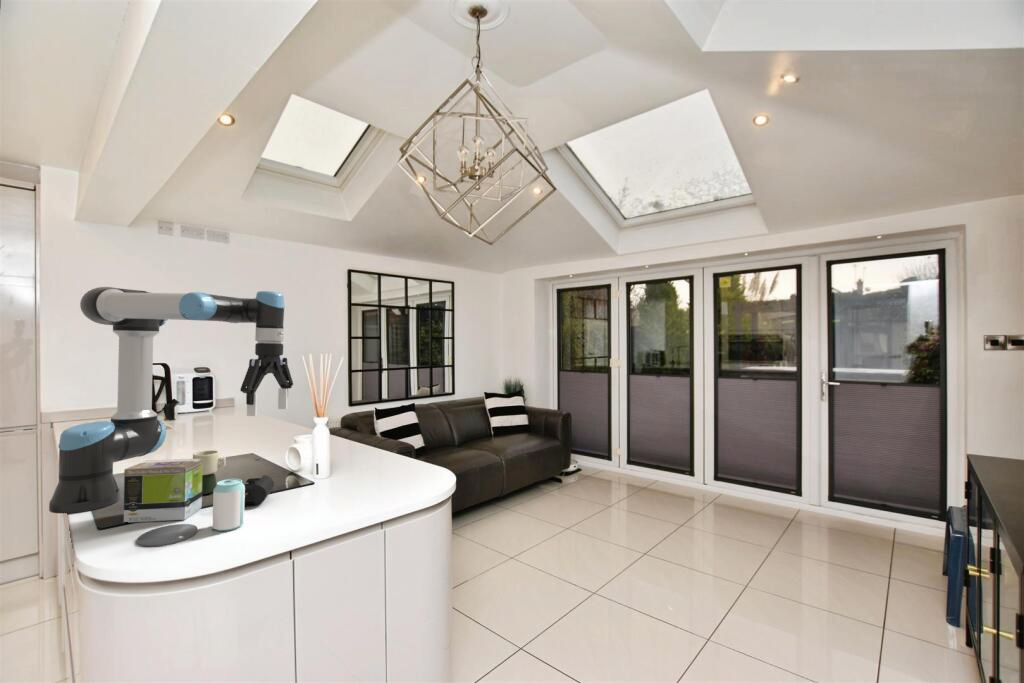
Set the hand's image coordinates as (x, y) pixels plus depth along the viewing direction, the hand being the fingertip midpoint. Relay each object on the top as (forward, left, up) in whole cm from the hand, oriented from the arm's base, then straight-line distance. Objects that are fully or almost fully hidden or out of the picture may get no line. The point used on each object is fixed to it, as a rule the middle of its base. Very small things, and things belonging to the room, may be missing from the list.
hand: (268, 412), depth 137 cm
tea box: (-20, -15, -28) cm, 37 cm away
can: (+3, -18, -28) cm, 33 cm away
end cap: (-3, 0, -28) cm, 28 cm away
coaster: (-7, -26, -28) cm, 38 cm away
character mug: (-24, +3, -28) cm, 37 cm away
